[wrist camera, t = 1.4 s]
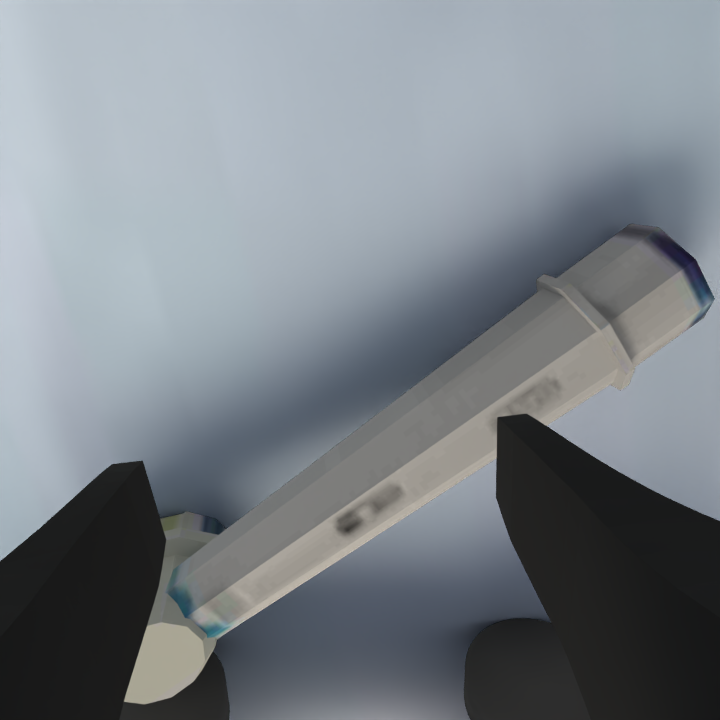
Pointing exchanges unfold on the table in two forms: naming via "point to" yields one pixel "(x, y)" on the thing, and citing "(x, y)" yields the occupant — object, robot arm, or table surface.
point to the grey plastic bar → (419, 445)
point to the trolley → (481, 687)
